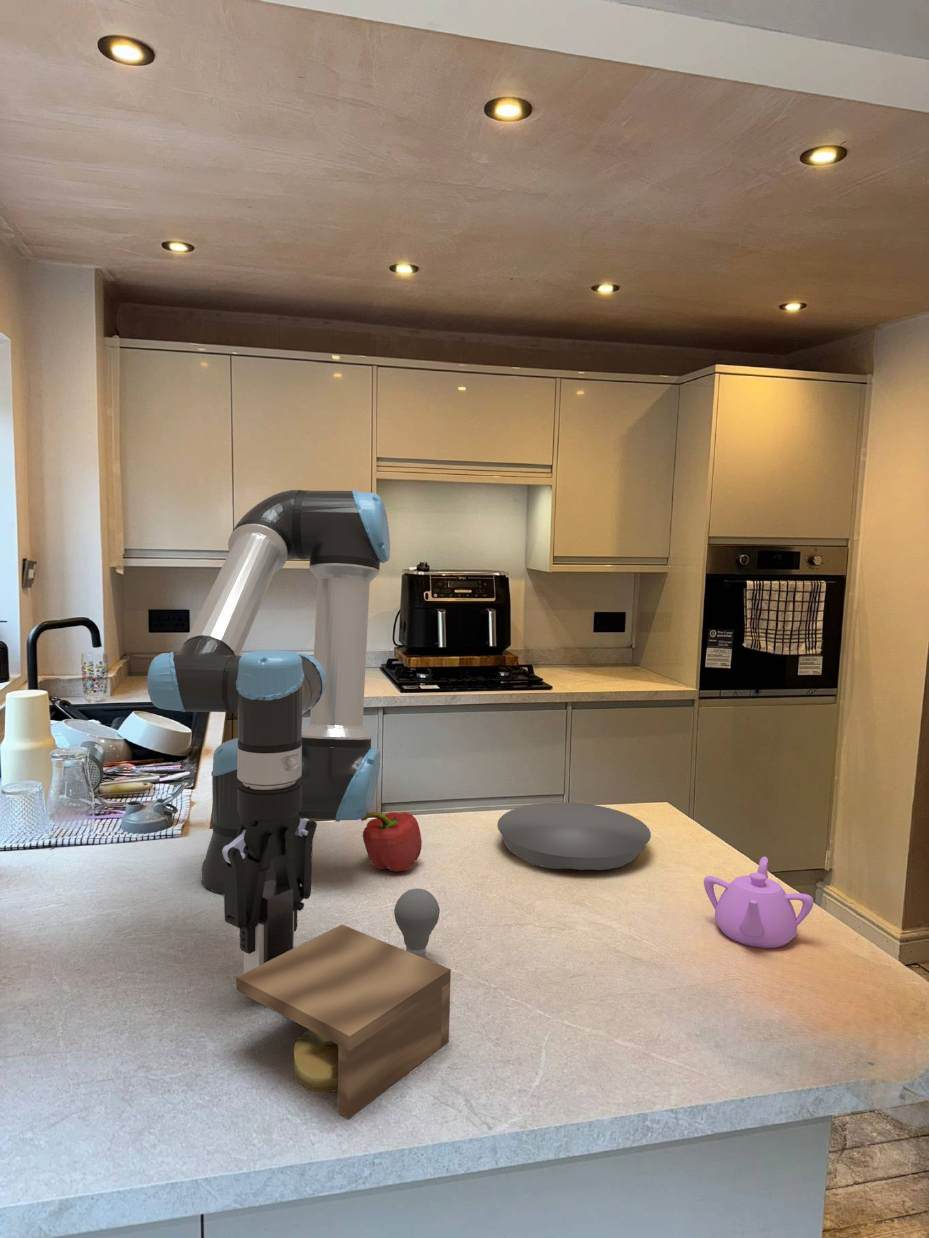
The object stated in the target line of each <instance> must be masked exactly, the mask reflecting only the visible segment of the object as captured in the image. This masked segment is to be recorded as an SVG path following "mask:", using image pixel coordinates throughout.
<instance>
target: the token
mask: <svg viewBox="0 0 929 1238" xmlns="http://www.w3.org/2000/svg"><path fill="white" fill-rule="evenodd" d="M293 1077H294V1080H295V1081H296V1082H297V1084H298V1085H299V1086H300V1087H301V1088H304V1089H305V1090H309V1091H311V1092H317V1093H329V1092H331V1093H332V1092H335V1091H338V1044H336V1043H334V1042H332V1041H330V1040H328V1039H326V1038H324V1037H323V1036H321V1035H319V1034H317V1033H315V1032H313V1031H311V1030H309V1029H308V1030H307V1031H305V1032H304V1033H303V1034H301V1035H300V1036H299V1037H298V1038H297V1039H296V1041H295V1043H294V1046H293Z"/></svg>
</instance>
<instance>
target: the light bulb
mask: <svg viewBox="0 0 929 1238" xmlns="http://www.w3.org/2000/svg"><path fill="white" fill-rule="evenodd" d="M393 912H394V913H393V914H394V920H395V923H396V925H397V926H398V928H399V931H401V933H402V936H403V942H404V945H405V947H406V949H405V951H408V952H410V953H412V954H415V955H417V956H420V957H422V958H425V959H427V954H426V953H427V946H428V944H429V941H430V935H431V934H432V931H434V929H435V927H436V925H437V924H438V921H439V918H440V905H439V902H438V900H437V899H436V897H435V896H434V895H433V894H432V893H431V892H430V891H428V890H427V889H423V888H412V889H408V890H407V891H405V892H404V893H402V894H401V895H400V896H399V898H398V899H397V901H396V903H395V904H394V909H393Z"/></svg>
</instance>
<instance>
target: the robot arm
mask: <svg viewBox="0 0 929 1238" xmlns="http://www.w3.org/2000/svg"><path fill="white" fill-rule="evenodd" d="M227 546H228V547H227V548H228V552H229V553H228V555H227V557H226V559H225V560H224V563H223V564H222V567H221V569H220V571H219V573H218V575H217V577H216V578H215V581H214V582H213V585H212V587H211V588H210V591H209V592H208V595H207V597H206V599H205V600H204V602H203V605H202V607H201V609H200V611H199V613H198V615H197V616H196V619H195V621H194V623H193V625H192V627H191V629H190V631H189V633H188V635H187V637H186V639H185V641H184V643H183V645H182V647H181V648H180V650H179V651H178V652H175V651H171V652H163V653H160V654H158V655H157V656H155V657H154V658H153V659H152V661H151V663H150V665H149V667H148V672H147V676H146V677H147V679H146V689H147V693H148V696H149V700H150V702H151V703H152V704H153V705H154V707H156V708H157V709H161V710H166V711H167V710H168V711H176V712H177V711H178V712H183V713H186V712H195V713H196V712H197V713H198V712H202V713H203V712H206V713H207V712H208V713H233V714H237V737H235V738H232V739H229V740H227V741H224V742H223V743H221V744H219V745H218V746H217V747H216V748H215V750H214V753H213V757H212V771H211V772H210V773H211V774H210V775H211V779H212V781H211V783H212V787H211V788H212V791H211V792H212V793H211V795H212V834H211V838H210V841H209V845H208V848H207V852H206V855H205V859H203V860H204V861H203V863H202V865H201V883H202V885H203V886H204V887H205V888H206V889H208V890H209V891H212V892H215V893H219V894H223V906H224V908H223V909H224V922H225V923H227V924H229V925H232V926H233V927H235V928H238V929H239V948H240V951H241V952H243V974H244V973H246V972H248V971H250V970H252V969H254V968H256V967H258V966H260V965H262V964H264V925H263V924H260V923H258V921H259V915H260V909H261V903H262V896H263V890H264V884H265V882H267V881H269V880H274V881H276V882H279V883H281V884H284V885H286V886H289V887H292V888H293V949H294V948H295V944H294V943H295V941H294V939H295V932H297V928H298V912H299V911H300V912H301V911H303V909H304V907H305V902H302V901H303V900H307V899H309V898H310V896H311V893H312V875H313V874H312V873H313V871H312V869H313V846H314V844H313V843H314V842H313V841H314V837H315V834H316V830H317V827H318V826H317V824H318V823H317V821H315V820H325V821H335V822H338V823H339V822H340V821H361V819H362V818H364V817H365V816H366V815H367V814H368V813H370V810H371V807H372V804H373V802H374V798H375V794H376V790H377V785H378V781H379V775H380V767H381V763H380V761H381V751H380V749H378V748H377V747H373V746H372V736H371V735H370V734H369V732H368V731H367V730H366V729H365V727H364V725H363V724H364V706H365V704H364V703H365V688H366V687H365V683H366V663H367V644H368V643H367V642H368V625H369V605H370V603H369V602H370V585H371V582H372V581H373V580H374V579H375V578H376V577H377V576H378V575H379V574H380V570H381V569H380V566H381V565H380V564H381V563H382V564H385V563H387V562H389V560H390V557H391V538H390V529H389V521H388V514H387V510H386V506H385V503H384V501H383V499H382V497H381V496H380V495H379V494H377V493H375V492H370V491H369V492H368V491H367V492H365V491H357V490H355V489H353V490H302V489H290V490H285V491H281V492H278V493H275V494H273V495H271V496H269V497H267V498H266V499H265V498H264V499H263V500H262V501H260V502H259V503H256V505H254V507H252V508H251V509H250V510H248V512H246V513H245V514H244V515H243V516H242V517H241V519H240V520H239V521H238V522H237V523H236V525H235V527H234V528H233V530H232V532H231V534H230V536H229V538H228V543H227ZM291 560H308V561H309V571H310V572H311V573H312V574H313V575H314V576H315V578H316V580H317V589H316V590H317V591H316V592H317V593H316V607H315V608H316V609H315V623H314V624H315V625H314V626H315V628H314V630H315V631H314V640H313V641H314V643H313V646H314V647H313V656H311V655H309V654H305V653H297V652H295V651H291V650H283V649H282V650H279V649H273V650H272V649H268V650H256V651H249V652H246V653H243V655H240V654H241V652H242V650H243V648H244V646H245V644H246V641H247V638H248V636H249V633H250V631H251V629H252V626H253V625H254V622H255V619H256V617H257V614H258V612H259V610H260V608H261V606H262V603H263V600H264V598H265V596H266V593H267V592H268V590H269V589H268V588H269V587H270V584H271V582H272V579H273V577H274V574H275V573H277V572H278V571H280V570H281V569H282V568H283V567H284V565H285V564H286V563H287V561H291ZM309 710H310V713H309V715H310V716H309V717H310V719H309V724H308V726H307V727H306V728H305V729H304V730H303V715H304V714H305V713H307V712H308V711H309Z"/></svg>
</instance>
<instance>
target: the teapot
mask: <svg viewBox="0 0 929 1238" xmlns="http://www.w3.org/2000/svg"><path fill="white" fill-rule="evenodd" d="M768 863H769V859H768V857H767V856H762V857H761V858H760V859H759V862H758V867H757V871H756V872H751V873H750V874H749V875H739V876H737V877H735V878H734V879H733V880H732V881H731V882H730V883H729V882H728V881H726V880H724V879H721V878H719V877H718V876H717V877H716V876H713V875H707V876H705V877H704V879H703V887H704V891H705V893H706V894H707V897H708V899H709V901H710V903H711V905H712V907H713V908H714V920H715V923H716V925H717V926H718V927H719V929H720V930H721V932H722V933H723V935H725V936H726V937H727V938H729V939H730V940H731V941H732V940H733V941H734V942H736V943H739V944H741V945H744V946H748V947H753V948H758V949H759V948H761V949H776V948H781V947H784V946H785V945H787V944H788V943H789V942H791V941H792V940H793V939H794V938H795V937H796V936H797V933H798V927H799V925H800V924H801V923H802V922H803V921H804V920H805V919H806V918H807V916H808V915H809V914H810V912H812V909H813V907H814V903H815V902H814V898H813V896H811V895H809V894H807V893H799V892H798V893H795V892H794V893H786V891H785V890H784V888H783V887H782V885H781V884H780V883H778V882H777V881H775V880H772V879H771V878H769V874H768ZM714 885H718V886H721V887H722V888H725V889H724V891H723V892H722V894H721V895H720V897H719V899H717V896H716V894H715V888H714ZM792 900H793V901H800V902H801V903H802V906H801V909H800V912H799V914H798V915H797V916H796V911H795V909H794V906H793V904H792V902H791V901H792Z"/></svg>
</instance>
